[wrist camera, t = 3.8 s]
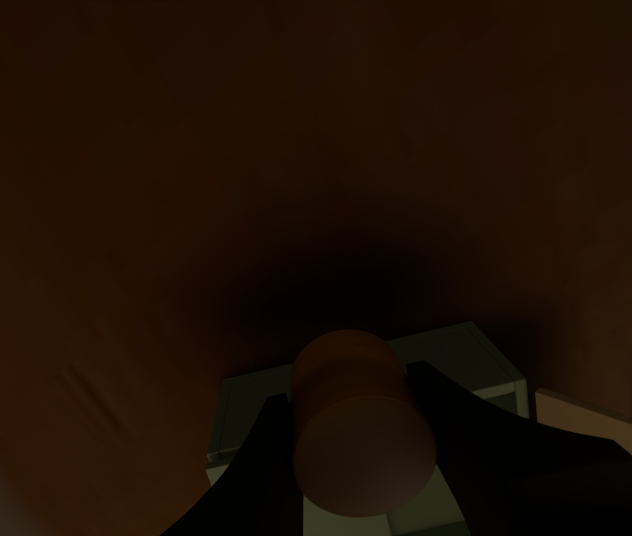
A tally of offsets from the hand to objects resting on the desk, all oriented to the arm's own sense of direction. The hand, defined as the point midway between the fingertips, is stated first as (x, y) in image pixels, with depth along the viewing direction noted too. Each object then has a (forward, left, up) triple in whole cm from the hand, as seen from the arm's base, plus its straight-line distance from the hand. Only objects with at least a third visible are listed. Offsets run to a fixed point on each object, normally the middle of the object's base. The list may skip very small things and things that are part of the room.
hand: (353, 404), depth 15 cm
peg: (0, 0, -1) cm, 1 cm away
